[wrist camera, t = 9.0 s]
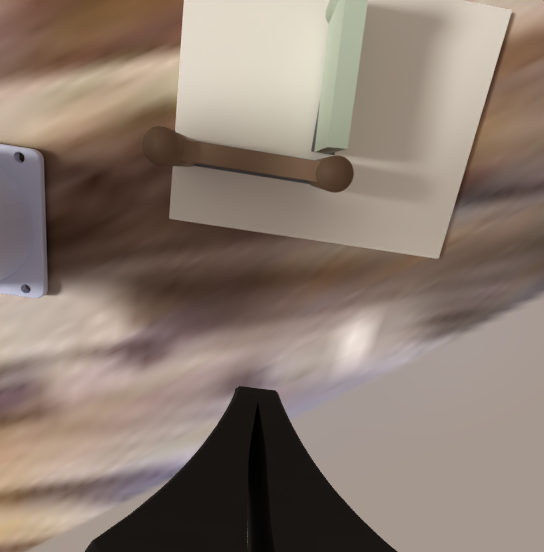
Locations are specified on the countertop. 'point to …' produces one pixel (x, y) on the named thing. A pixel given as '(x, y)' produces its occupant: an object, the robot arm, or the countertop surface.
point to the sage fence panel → (340, 73)
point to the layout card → (364, 125)
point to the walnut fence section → (245, 160)
